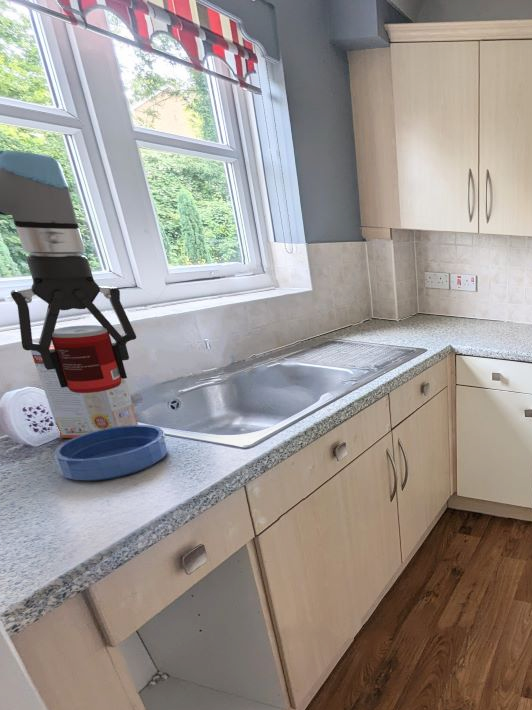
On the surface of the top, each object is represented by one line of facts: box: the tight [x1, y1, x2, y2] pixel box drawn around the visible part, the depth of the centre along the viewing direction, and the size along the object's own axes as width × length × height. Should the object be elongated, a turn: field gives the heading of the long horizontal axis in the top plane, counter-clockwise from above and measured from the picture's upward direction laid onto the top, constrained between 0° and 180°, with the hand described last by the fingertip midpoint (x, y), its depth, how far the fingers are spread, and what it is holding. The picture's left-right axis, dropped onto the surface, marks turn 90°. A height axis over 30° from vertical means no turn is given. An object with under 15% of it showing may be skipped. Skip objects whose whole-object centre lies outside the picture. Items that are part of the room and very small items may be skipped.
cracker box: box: [30, 344, 139, 439], centre depth 102 cm, size 14×6×21 cm, turn 88°
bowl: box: [53, 424, 169, 482], centre depth 93 cm, size 17×17×5 cm
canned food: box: [51, 324, 121, 393], centre depth 84 cm, size 8×8×11 cm
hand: (94, 380), depth 85 cm, fingers closed on canned food, 8 cm apart
